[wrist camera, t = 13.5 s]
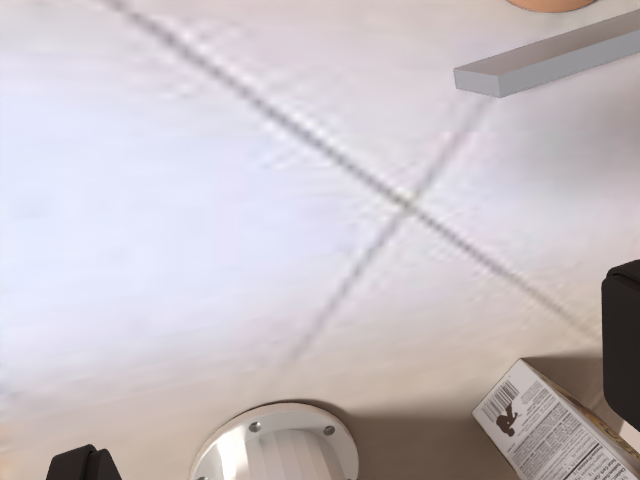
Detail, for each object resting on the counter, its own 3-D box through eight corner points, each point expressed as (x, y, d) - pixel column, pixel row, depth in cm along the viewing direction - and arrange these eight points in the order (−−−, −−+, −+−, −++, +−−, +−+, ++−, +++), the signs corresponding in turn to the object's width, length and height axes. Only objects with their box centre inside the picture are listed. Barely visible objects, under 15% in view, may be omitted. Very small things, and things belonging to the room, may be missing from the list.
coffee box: (583, 399, 47) (769, 566, 33) (534, 454, 48) (692, 640, 34) (519, 354, 44) (696, 520, 29) (466, 414, 44) (612, 604, 30)
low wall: (675, 16, 36) (747, 15, 32) (456, 88, 34) (500, 98, 30) (675, -3, 36) (748, -7, 31) (453, 69, 34) (497, 76, 29)
